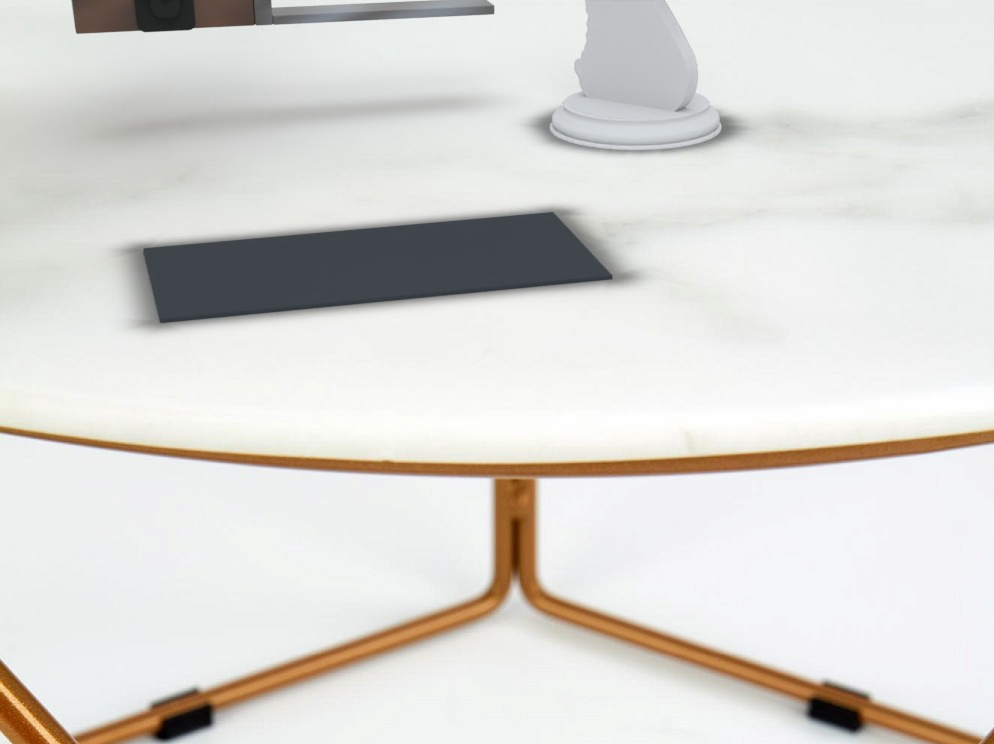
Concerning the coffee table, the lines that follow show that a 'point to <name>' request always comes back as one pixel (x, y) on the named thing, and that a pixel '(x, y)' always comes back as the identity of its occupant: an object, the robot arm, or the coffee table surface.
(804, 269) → the coffee table surface
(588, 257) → the slate mat
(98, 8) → the knife
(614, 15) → the chess piece
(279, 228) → the coffee table surface
